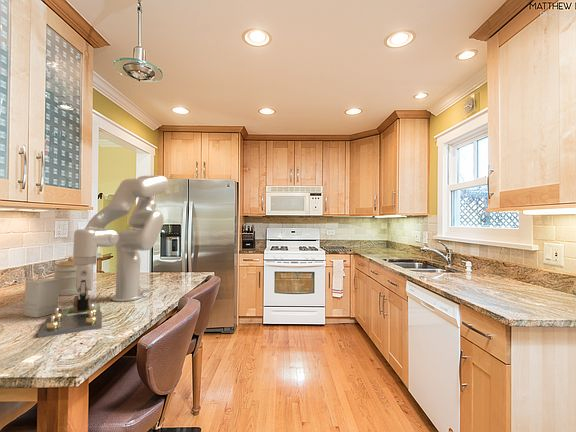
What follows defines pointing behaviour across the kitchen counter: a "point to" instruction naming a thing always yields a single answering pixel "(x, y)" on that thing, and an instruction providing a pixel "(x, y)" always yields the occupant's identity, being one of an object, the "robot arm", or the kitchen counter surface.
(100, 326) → the standoff base
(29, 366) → the kitchen counter surface
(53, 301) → the supplement box
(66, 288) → the jar
